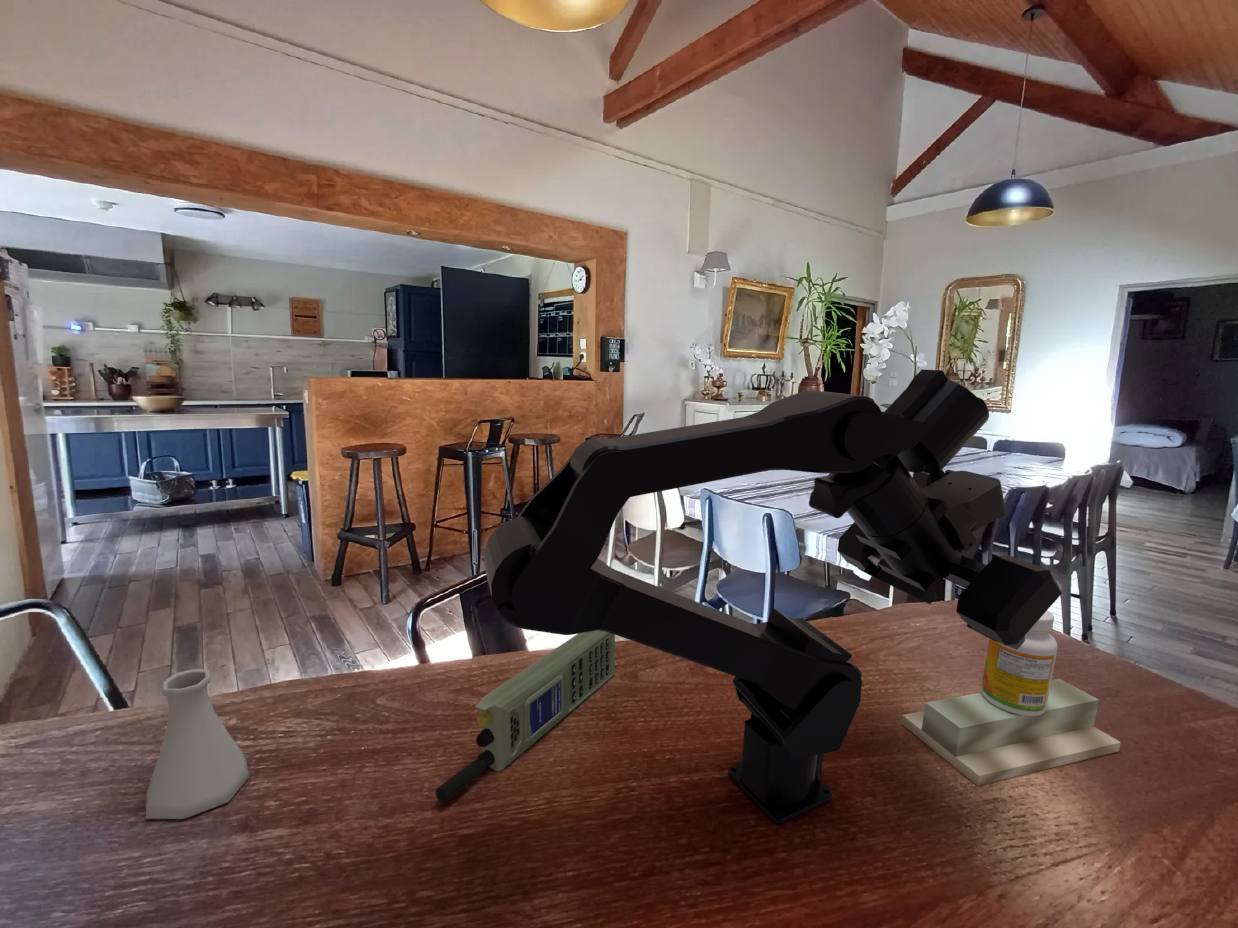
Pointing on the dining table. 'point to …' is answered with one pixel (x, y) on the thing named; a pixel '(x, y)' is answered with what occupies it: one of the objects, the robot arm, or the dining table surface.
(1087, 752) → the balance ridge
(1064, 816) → the dining table surface
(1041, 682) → the supplement bottle
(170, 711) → the flask
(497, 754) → the handheld radio
